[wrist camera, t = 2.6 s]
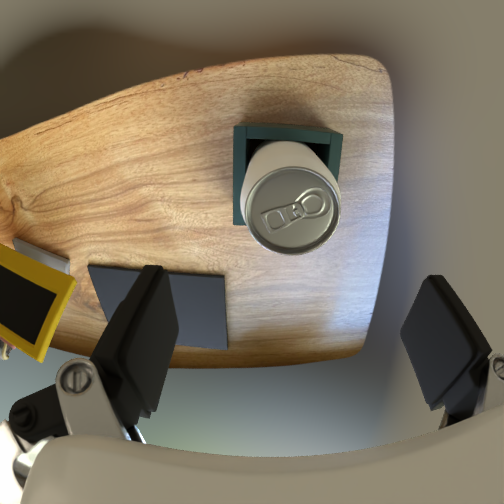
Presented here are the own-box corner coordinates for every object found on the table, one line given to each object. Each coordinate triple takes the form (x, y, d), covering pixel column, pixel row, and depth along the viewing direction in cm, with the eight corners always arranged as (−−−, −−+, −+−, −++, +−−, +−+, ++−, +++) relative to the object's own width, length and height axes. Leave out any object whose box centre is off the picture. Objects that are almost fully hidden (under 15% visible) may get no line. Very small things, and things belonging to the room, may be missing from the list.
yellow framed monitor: (86, 263, 33) (26, 342, 20) (91, 301, 37) (45, 376, 24) (5, 229, 31) (-52, 282, 18) (13, 265, 35) (-34, 318, 22)
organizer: (329, 128, 23) (343, 134, 19) (320, 209, 28) (330, 230, 23) (239, 122, 23) (233, 126, 19) (238, 204, 28) (232, 225, 24)
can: (325, 182, 26) (360, 238, 16) (267, 206, 28) (266, 275, 18) (299, 124, 23) (323, 140, 13) (238, 151, 25) (216, 189, 15)
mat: (224, 275, 33) (223, 278, 32) (227, 347, 40) (227, 350, 40) (88, 264, 33) (86, 266, 33) (114, 331, 41) (113, 333, 40)
